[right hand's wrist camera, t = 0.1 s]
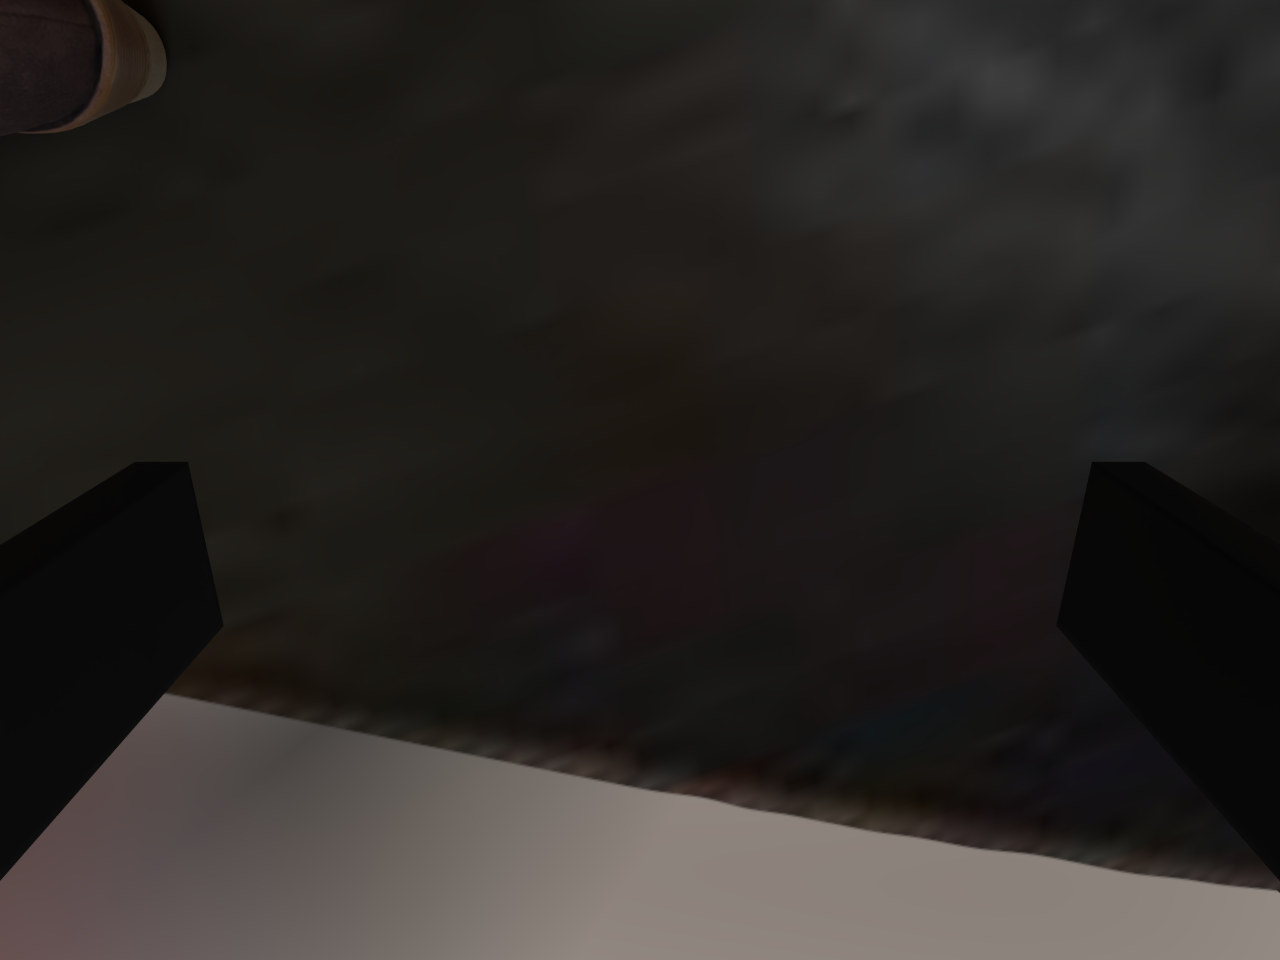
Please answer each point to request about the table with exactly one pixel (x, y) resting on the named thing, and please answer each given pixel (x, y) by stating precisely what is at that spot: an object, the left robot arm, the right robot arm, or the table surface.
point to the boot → (73, 62)
